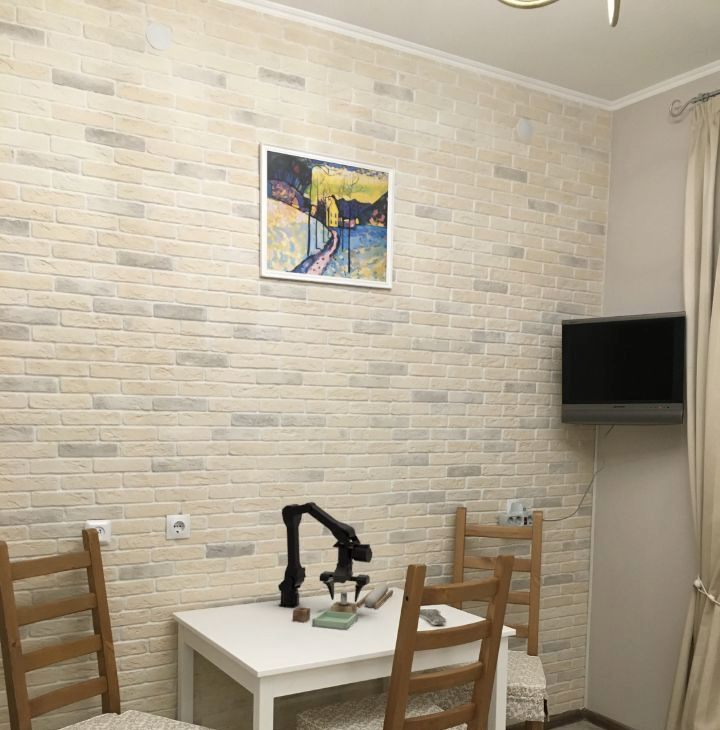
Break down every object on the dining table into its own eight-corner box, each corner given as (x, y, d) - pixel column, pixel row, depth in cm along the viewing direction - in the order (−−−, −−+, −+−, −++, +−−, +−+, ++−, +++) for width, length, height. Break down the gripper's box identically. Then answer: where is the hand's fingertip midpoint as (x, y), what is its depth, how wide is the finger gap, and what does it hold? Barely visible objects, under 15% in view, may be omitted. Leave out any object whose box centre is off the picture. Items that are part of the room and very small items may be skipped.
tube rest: (356, 607, 309) (356, 602, 310) (374, 592, 334) (374, 588, 334) (376, 609, 307) (376, 604, 307) (392, 594, 332) (393, 590, 332)
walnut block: (292, 621, 288) (292, 610, 288) (297, 617, 293) (297, 606, 293) (305, 622, 286) (305, 611, 287) (309, 619, 291) (310, 608, 291)
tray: (312, 626, 282) (312, 619, 282) (324, 617, 294) (324, 610, 294) (346, 630, 278) (346, 623, 278) (357, 620, 291) (357, 613, 291)
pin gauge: (339, 614, 299) (340, 593, 299) (341, 612, 301) (342, 591, 301) (345, 615, 298) (346, 593, 298) (347, 613, 300) (347, 592, 301)
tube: (377, 599, 308) (390, 584, 333) (365, 594, 310) (378, 579, 334) (373, 611, 308) (386, 596, 333) (361, 606, 310) (374, 591, 334)
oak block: (330, 615, 297) (330, 606, 297) (337, 610, 304) (337, 601, 305) (350, 617, 294) (350, 608, 295) (356, 612, 302) (356, 603, 302)
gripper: (315, 561, 295) (314, 603, 295) (362, 565, 290) (361, 608, 289) (324, 556, 306) (323, 596, 305) (370, 560, 301) (369, 601, 300)
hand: (344, 600), depth 300 cm, fingers open, 9 cm apart
